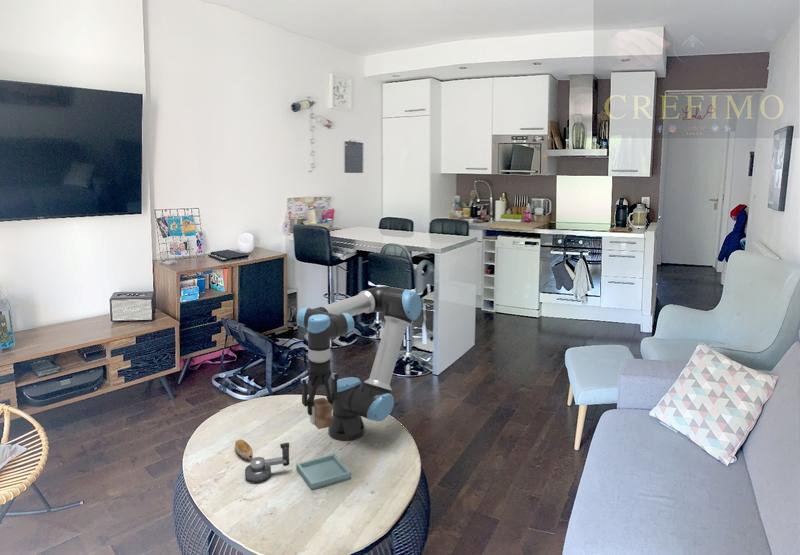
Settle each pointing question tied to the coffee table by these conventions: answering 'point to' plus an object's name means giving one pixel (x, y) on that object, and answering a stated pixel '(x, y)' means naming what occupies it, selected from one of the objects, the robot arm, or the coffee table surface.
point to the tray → (323, 471)
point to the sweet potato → (243, 449)
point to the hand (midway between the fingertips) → (320, 420)
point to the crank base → (257, 475)
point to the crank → (271, 460)
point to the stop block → (322, 413)
